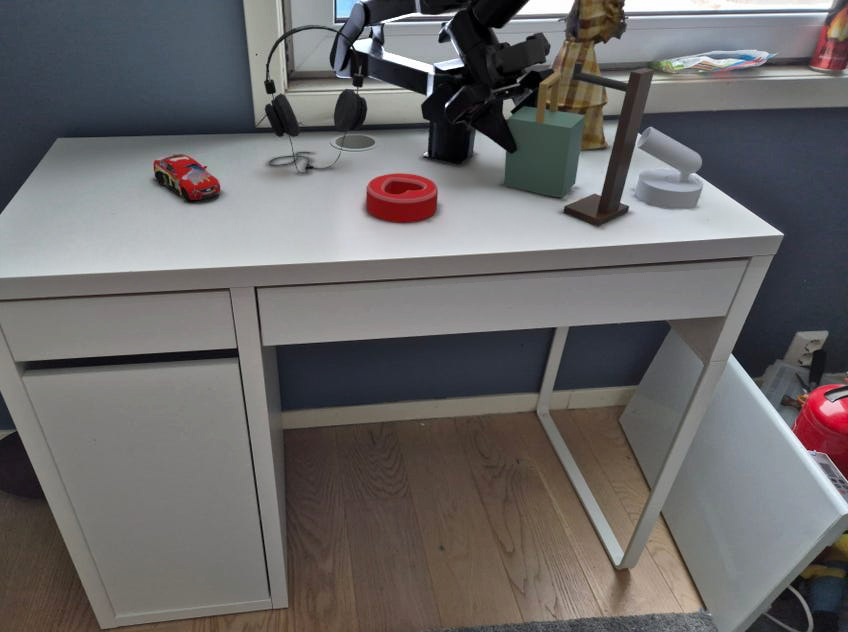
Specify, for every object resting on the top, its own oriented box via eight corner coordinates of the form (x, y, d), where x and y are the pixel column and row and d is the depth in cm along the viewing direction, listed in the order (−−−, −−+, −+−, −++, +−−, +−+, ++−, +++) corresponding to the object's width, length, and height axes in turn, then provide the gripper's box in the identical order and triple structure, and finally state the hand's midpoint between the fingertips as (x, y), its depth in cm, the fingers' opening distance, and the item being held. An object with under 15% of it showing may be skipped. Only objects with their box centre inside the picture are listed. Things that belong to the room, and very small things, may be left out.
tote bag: (503, 185, 97) (511, 79, 87) (518, 172, 100) (527, 68, 90) (561, 198, 92) (576, 88, 83) (575, 183, 96) (591, 76, 86)
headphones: (349, 148, 109) (349, 14, 97) (371, 172, 100) (373, 28, 88) (260, 157, 105) (248, 18, 93) (274, 182, 96) (263, 34, 84)
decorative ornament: (395, 188, 95) (396, 167, 93) (449, 206, 90) (451, 184, 88) (352, 208, 89) (351, 186, 87) (408, 229, 84) (409, 206, 83)
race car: (227, 198, 92) (224, 170, 89) (192, 207, 89) (187, 179, 87) (184, 170, 100) (180, 144, 98) (150, 178, 97) (145, 151, 95)
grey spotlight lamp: (638, 117, 93) (712, 122, 91) (621, 182, 98) (691, 188, 97) (646, 136, 86) (727, 142, 84) (628, 205, 92) (703, 211, 90)
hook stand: (534, 201, 92) (559, 60, 81) (565, 189, 96) (592, 52, 85) (598, 226, 86) (634, 77, 75) (627, 212, 89) (666, 68, 78)
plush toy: (509, 119, 119) (546, -32, 100) (581, 120, 120) (631, -28, 101) (528, 163, 110) (574, 6, 91) (606, 164, 111) (666, 9, 92)
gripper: (468, 19, 82) (524, 130, 82) (559, 5, 92) (609, 104, 92) (421, 73, 91) (471, 172, 91) (508, 55, 101) (553, 145, 101)
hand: (528, 147), depth 94 cm, fingers closed on tote bag, 6 cm apart
